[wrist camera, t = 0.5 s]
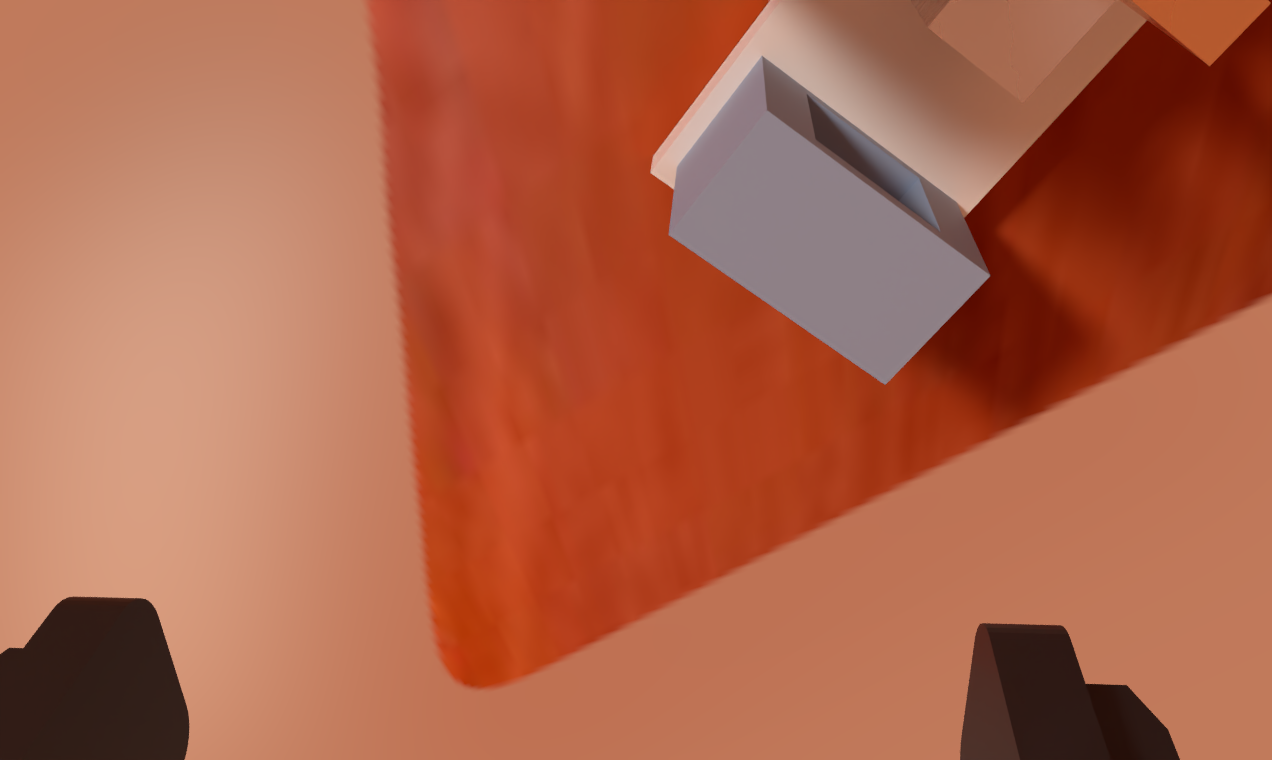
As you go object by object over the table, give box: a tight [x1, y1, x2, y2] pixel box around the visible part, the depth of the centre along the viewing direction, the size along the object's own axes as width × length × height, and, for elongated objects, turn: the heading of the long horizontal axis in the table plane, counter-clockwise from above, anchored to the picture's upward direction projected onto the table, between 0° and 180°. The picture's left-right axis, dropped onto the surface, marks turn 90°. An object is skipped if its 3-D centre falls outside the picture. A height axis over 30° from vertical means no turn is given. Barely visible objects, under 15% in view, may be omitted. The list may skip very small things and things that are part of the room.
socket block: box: [669, 56, 990, 385], centre depth 32 cm, size 4×7×5 cm, turn 55°
